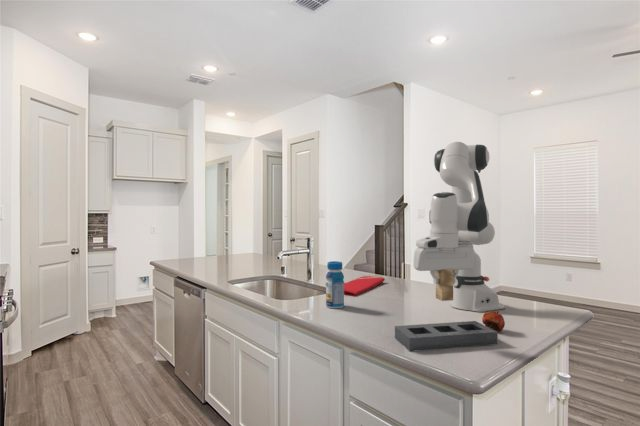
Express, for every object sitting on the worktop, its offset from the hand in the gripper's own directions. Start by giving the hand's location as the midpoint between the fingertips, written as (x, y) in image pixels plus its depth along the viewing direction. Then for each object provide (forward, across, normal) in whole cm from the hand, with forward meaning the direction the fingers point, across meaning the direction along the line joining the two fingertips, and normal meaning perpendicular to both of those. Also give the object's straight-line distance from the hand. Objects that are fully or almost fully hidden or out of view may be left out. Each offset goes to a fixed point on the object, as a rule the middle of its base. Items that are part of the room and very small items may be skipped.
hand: (444, 283), depth 120 cm
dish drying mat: (+20, +4, -87) cm, 89 cm away
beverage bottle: (+19, +26, -50) cm, 59 cm away
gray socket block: (+19, 0, 0) cm, 19 cm away
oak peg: (+5, 0, 0) cm, 5 cm away
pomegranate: (+19, -22, -6) cm, 30 cm away
